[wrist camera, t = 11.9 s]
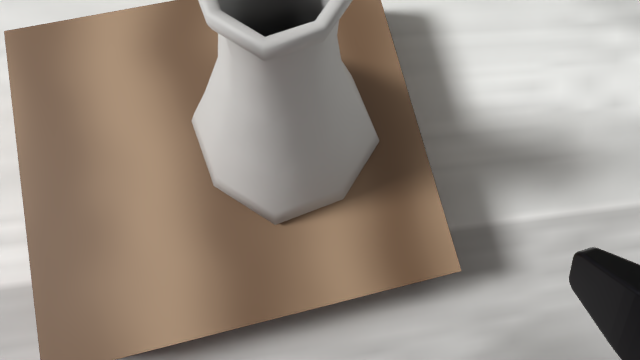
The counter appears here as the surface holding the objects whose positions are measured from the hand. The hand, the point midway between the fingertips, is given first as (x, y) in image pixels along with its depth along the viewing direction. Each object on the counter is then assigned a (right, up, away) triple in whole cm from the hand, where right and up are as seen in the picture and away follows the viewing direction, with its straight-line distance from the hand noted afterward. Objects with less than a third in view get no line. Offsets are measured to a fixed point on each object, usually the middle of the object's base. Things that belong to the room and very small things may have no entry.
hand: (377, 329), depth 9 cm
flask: (-3, +5, +9) cm, 11 cm away
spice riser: (-5, +4, +12) cm, 14 cm away
